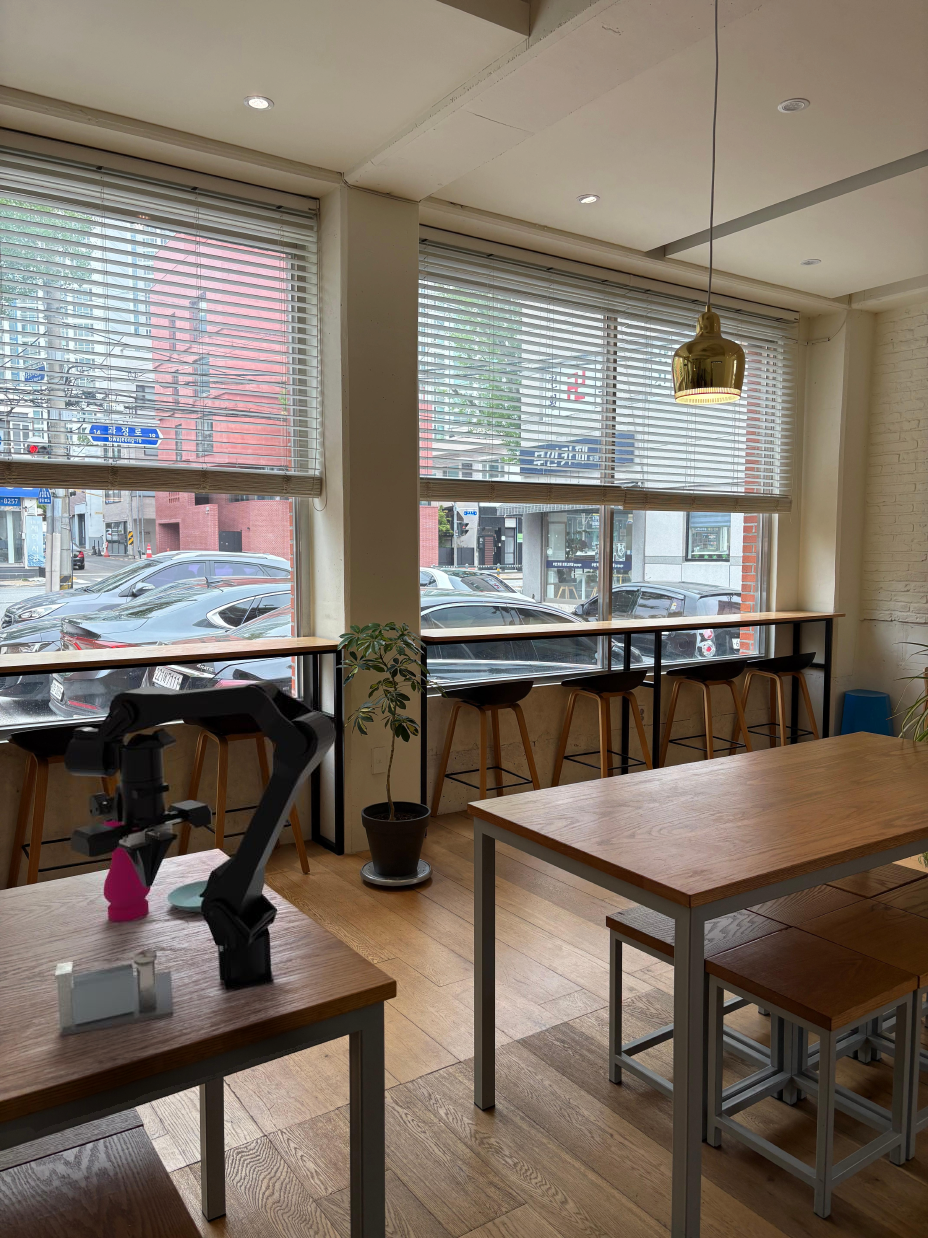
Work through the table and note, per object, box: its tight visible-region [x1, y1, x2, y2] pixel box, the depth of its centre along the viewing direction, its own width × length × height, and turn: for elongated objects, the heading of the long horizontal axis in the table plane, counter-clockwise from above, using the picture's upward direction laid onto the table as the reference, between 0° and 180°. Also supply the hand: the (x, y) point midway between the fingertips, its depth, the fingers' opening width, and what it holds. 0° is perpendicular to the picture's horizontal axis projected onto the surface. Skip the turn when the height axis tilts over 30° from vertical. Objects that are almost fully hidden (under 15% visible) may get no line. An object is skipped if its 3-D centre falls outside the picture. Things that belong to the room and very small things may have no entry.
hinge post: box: [133, 949, 158, 1013], centre depth 115 cm, size 3×3×8 cm
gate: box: [72, 963, 135, 1024], centre depth 112 cm, size 7×2×6 cm, turn 116°
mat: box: [61, 970, 174, 1037], centre depth 117 cm, size 13×12×1 cm
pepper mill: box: [103, 820, 152, 923], centre depth 146 cm, size 7×7×20 cm
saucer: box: [167, 879, 208, 913], centre depth 151 cm, size 12×12×2 cm
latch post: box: [54, 961, 74, 1035], centre depth 111 cm, size 2×3×8 cm, turn 20°
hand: (147, 886), depth 126 cm, fingers closed
